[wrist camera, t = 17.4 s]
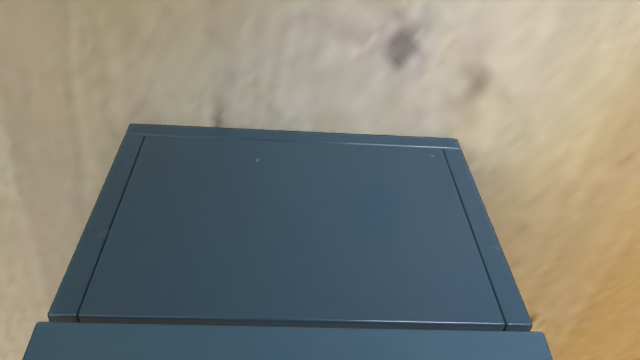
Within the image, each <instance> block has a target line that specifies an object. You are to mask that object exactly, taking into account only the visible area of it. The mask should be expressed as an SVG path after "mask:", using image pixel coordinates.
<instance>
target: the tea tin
mask: <svg viewBox="0 0 640 360" xmlns="http://www.w3.org/2000/svg"><path fill="white" fill-rule="evenodd" d="M48 318H49V321H50V322H73V323H122V324H171V325H220V326H269V327H318V328H367V329H416V330H465V331H514V332H530V330H531V328H532V322H531V320H530V317H529V315H528V312H527V310H526V307H525V305H524V302H523V300H522V298H521V295H520V293H519V290H518V288H517V285H516V283H515V280H514V278H513V275H512V273H511V271H510V268H509V266H508V263H507V261H506V258H505V256H504V253H503V251H502V248H501V246H500V244H499V241H498V239H497V236H496V234H495V231H494V229H493V226H492V224H491V221H490V219H489V217H488V214H487V212H486V209H485V207H484V204H483V202H482V199H481V197H480V194H479V192H478V190H477V187H476V185H475V182H474V180H473V177H472V175H471V172H470V170H469V167H468V165H467V162H466V160H465V158H464V155H463V153H462V150H461V149H460V146H459V143H458V141H457V139H453V138H431V137H409V136H388V135H366V134H344V133H322V132H300V131H278V130H256V129H234V128H213V127H191V126H169V125H147V124H130V125H129V127H128V129H127V132H126V135H125V136H124V139H123V141H122V143H121V146H120V148H119V150H118V153H117V155H116V157H115V159H114V162H113V164H112V166H111V169H110V171H109V173H108V176H107V178H106V180H105V183H104V185H103V187H102V190H101V192H100V194H99V196H98V199H97V201H96V203H95V206H94V208H93V210H92V213H91V215H90V217H89V220H88V222H87V224H86V227H85V229H84V231H83V234H82V236H81V238H80V240H79V243H78V245H77V247H76V250H75V252H74V254H73V257H72V259H71V261H70V264H69V266H68V268H67V271H66V273H65V275H64V278H63V280H62V282H61V284H60V287H59V289H58V291H57V294H56V296H55V298H54V301H53V303H52V305H51V308H50V310H49V312H48Z"/></svg>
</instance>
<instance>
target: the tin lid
mask: <svg viewBox="0 0 640 360" xmlns="http://www.w3.org/2000/svg"><path fill="white" fill-rule="evenodd" d="M23 360H553V359H552V356H551V353H550V350H549V347H548V344H547V341H546V339H545V336H544V334H543V333H542V332H514V331H465V330H416V329H367V328H318V327H269V326H220V325H171V324H122V323H73V322H37V324H36V326H35V328H34V331H33V333H32V336H31V339H30V341H29V344H28V347H27V349H26V352H25V354H24V357H23Z"/></svg>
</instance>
